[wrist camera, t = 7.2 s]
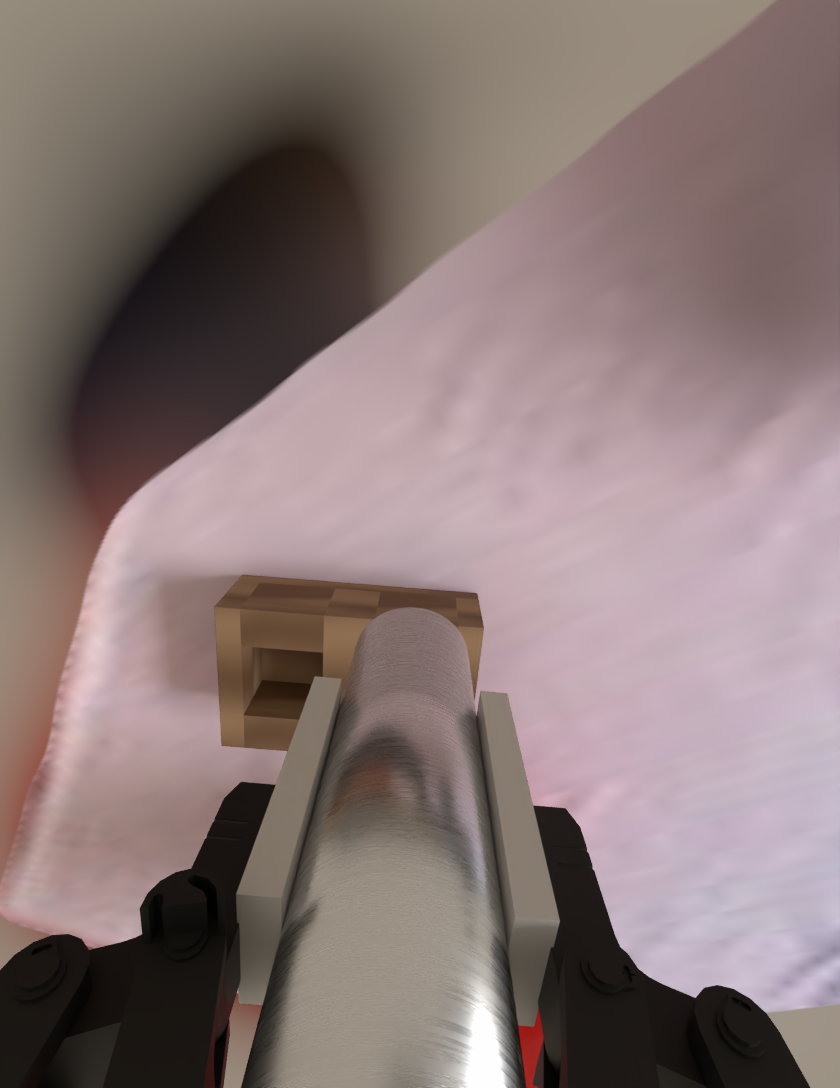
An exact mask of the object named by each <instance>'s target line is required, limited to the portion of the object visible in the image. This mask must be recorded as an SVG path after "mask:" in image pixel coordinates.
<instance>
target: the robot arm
mask: <svg viewBox="0 0 840 1088" xmlns="http://www.w3.org/2000/svg"><path fill="white" fill-rule="evenodd" d="M341 681H342V679H339V678H327V677H316V676H315V677H314V680H313V683H312V686H311V688H310V691H309V694H308V697H307V699H306V702H305V705H304V708H303V711H302V713H301V716H300V719H299V722H298V724H297V727H296V730H295V733H294V735H293V738H292V741H291V744H290V747H289V749H288V752H287V755H286V758H285V760H284V763H283V766H282V769H281V771H280V774H279V777H278V780H277V783H276V785H271V784H259V783H247V782H241V783H240V784H239V785H237V786H236V787H235V788H234V789H233V790H232V791H231V792H230V793H229V794H228V795H227V796H226V797H225V798H224V800H223V802H222V804H221V806H220V808H219V811H218V813H217V815H216V817H215V821H214V822H213V823H212V826H211V828H210V830H209V832H208V834H207V838H206V839H205V840H204V843H203V845H202V847H201V849H200V851H199V853H198V855H197V858H196V860H195V862H194V864H193V866H192V868H191V869H188V870H184V871H180V872H175V873H174V874H172V875H170V876H168V877H167V878H165V879H163V880H161V881H160V882H159V883H158V884H157V885H156V886H155V887H154V888H153V889H152V890H151V891H150V892H149V893H148V894H147V896H146V898H145V900H144V901H143V903H142V905H141V907H140V915H141V925H142V935H140V936H138V937H136V938H133V939H130V940H127V941H124V942H121V943H116V944H112V945H108V946H104V947H100V948H96V949H92V950H88V948H87V946H86V945H85V944H84V942H83V941H82V939H80V938H77V937H75V936H72V935H70V934H64V935H51V936H49V937H46V938H44V939H41V940H38V941H36V942H33V943H32V944H30V945H29V946H27V947H26V948H24V949H23V950H21V951H20V952H18V953H17V954H15V955H14V956H13V957H12V958H11V959H10V960H9V961H8V963H7V964H6V965H5V966H4V967H3V968H2V969H1V970H0V1088H223V1085H224V1077H225V1069H226V1060H227V1052H228V1044H229V1036H230V1027H229V1017H230V1013H231V1010H232V1007H233V1003H234V1000H235V997H236V994H237V990H238V988H239V1003H243V1004H256V1005H263V1001H264V997H265V994H266V990H267V986H268V982H269V978H270V974H271V970H272V967H273V963H274V959H275V955H276V951H277V947H278V943H279V940H280V936H281V933H282V929H283V925H284V921H285V917H286V914H287V910H288V906H289V902H290V898H291V894H292V890H293V887H294V883H295V879H296V875H297V871H298V867H299V863H300V859H301V856H302V852H303V848H304V844H305V840H306V836H307V832H308V829H309V825H310V821H311V817H312V813H313V809H314V805H315V802H316V798H317V794H318V790H319V786H320V782H321V778H322V774H323V771H324V767H325V763H326V759H327V755H328V751H329V747H330V744H331V740H332V736H333V732H334V728H335V724H336V720H337V716H338V713H339V709H340V700H341ZM477 723H478V731H479V738H480V746H481V753H482V761H483V768H484V775H485V783H486V790H487V798H488V805H489V813H490V820H491V828H492V835H493V842H494V850H495V857H496V865H497V872H498V880H499V887H500V894H501V902H502V909H503V917H504V924H505V932H506V939H507V947H508V954H509V961H510V969H511V976H512V984H513V991H514V999H515V1006H516V1013H517V1021H518V1025H519V1026H531V1027H534V1025H535V1021H536V1017H537V1013H538V1009H539V1013H540V1019H541V1025H542V1031H543V1037H544V1038H543V1042H542V1046H541V1050H540V1054H539V1058H538V1061H537V1065H536V1069H535V1074H534V1079H533V1086H536V1087H539V1088H810V1086H809V1085H808V1083H807V1081H806V1079H805V1078H804V1076H803V1074H802V1072H801V1070H800V1069H799V1067H798V1065H797V1063H796V1061H795V1059H794V1058H793V1056H792V1054H791V1052H790V1050H789V1048H788V1047H787V1045H786V1043H785V1041H784V1040H783V1038H782V1036H781V1034H780V1032H779V1031H778V1029H777V1028H776V1026H775V1025H774V1024H773V1022H772V1021H771V1019H770V1018H769V1017H768V1015H767V1014H766V1013H765V1012H764V1011H763V1010H762V1009H761V1008H760V1007H759V1006H758V1005H756V1004H755V1003H754V1002H753V1001H752V1000H751V999H750V998H748V997H746V996H744V995H743V994H741V993H739V992H738V991H736V990H734V989H731V988H727V987H723V986H719V985H716V986H711V987H706V988H704V989H703V990H702V991H701V992H700V993H699V995H698V996H697V997H696V998H694V997H691V996H689V995H687V994H684V993H682V992H680V991H677V990H675V989H672V988H670V987H668V986H665V985H663V984H661V983H659V982H657V981H655V980H653V979H651V978H649V977H648V976H647V975H645V974H644V973H643V972H642V971H640V970H639V969H638V968H637V966H636V965H635V963H634V962H633V961H632V959H631V958H630V956H629V955H628V953H626V952H625V951H624V950H623V949H622V948H621V947H620V946H619V943H618V941H617V939H616V937H615V934H614V931H613V928H612V925H611V922H610V919H609V915H608V912H607V909H606V906H605V903H604V900H603V897H602V894H601V891H600V887H599V884H598V881H597V878H596V875H595V872H594V870H593V869H592V863H591V860H590V856H589V853H588V852H587V847H586V844H585V841H584V838H583V835H582V832H581V828H580V826H579V825H578V824H577V823H576V821H575V820H574V819H573V817H572V816H571V815H570V814H569V812H568V811H567V810H566V808H555V807H544V806H533V803H532V799H531V794H530V790H529V786H528V781H527V777H526V773H525V768H524V764H523V760H522V755H521V751H520V747H519V743H518V738H517V734H516V730H515V725H514V721H513V717H512V712H511V708H510V704H509V699H508V695H507V693H497V692H485V691H480V698H479V705H478V711H477Z"/></svg>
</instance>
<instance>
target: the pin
mask: <svg viewBox="0 0 840 1088" xmlns="http://www.w3.org/2000/svg"><path fill="white" fill-rule="evenodd" d="M241 1088H526V1080H525V1073H524V1066H523V1058H522V1051H521V1043H520V1036H519V1028H518V1021H517V1013H516V1006H515V999H514V991H513V984H512V976H511V969H510V961H509V954H508V947H507V939H506V932H505V924H504V917H503V909H502V902H501V894H500V887H499V880H498V872H497V865H496V857H495V850H494V842H493V835H492V828H491V820H490V813H489V805H488V798H487V790H486V783H485V775H484V768H483V761H482V753H481V746H480V738H479V731H478V723H477V716H476V709H475V701H474V694H473V686H472V679H471V671H470V664H469V656H468V650H467V646H466V643H465V640H464V638H463V636H462V635H461V633H460V631H459V630H458V629H457V628H456V626H455V625H454V624H453V623H451V622H450V621H449V620H448V619H446V618H445V617H443V616H442V615H440V614H438V613H435V612H433V611H430V610H427V609H422V608H414V607H407V608H399V609H394V610H391V611H388V612H385V613H383V614H381V615H379V616H378V617H376V618H375V619H373V620H372V621H371V622H370V623H369V624H368V625H367V626H366V627H365V628H364V630H363V631H362V633H361V634H360V636H359V638H358V640H357V643H356V647H355V650H354V654H353V658H352V662H351V666H350V670H349V673H348V677H347V681H346V685H345V689H344V693H343V697H342V700H341V704H340V709H339V713H338V716H337V720H336V724H335V728H334V732H333V736H332V740H331V744H330V747H329V751H328V755H327V759H326V763H325V767H324V771H323V774H322V778H321V782H320V786H319V790H318V794H317V798H316V802H315V805H314V809H313V813H312V817H311V821H310V825H309V829H308V832H307V836H306V840H305V844H304V848H303V852H302V856H301V859H300V863H299V867H298V871H297V875H296V879H295V883H294V887H293V890H292V894H291V898H290V902H289V906H288V910H287V914H286V917H285V921H284V925H283V929H282V933H281V936H280V940H279V943H278V947H277V951H276V955H275V959H274V963H273V967H272V970H271V974H270V978H269V982H268V986H267V990H266V994H265V997H264V1001H263V1005H262V1009H261V1013H260V1017H259V1021H258V1024H257V1028H256V1032H255V1036H254V1040H253V1044H252V1048H251V1052H250V1055H249V1059H248V1063H247V1067H246V1071H245V1075H244V1079H243V1083H242V1086H241Z"/></svg>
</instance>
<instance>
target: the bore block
mask: <svg viewBox="0 0 840 1088" xmlns="http://www.w3.org/2000/svg"><path fill="white" fill-rule="evenodd" d="M407 607H414V608H422V609H427V610H430V611H433V612H435V613H438V614H440V615H442V616H443V617H445V618H446V619H448V620H449V621H450V622H451V623H453V624H454V625H455V626H456V628H457V629H458V630H459V631H460V633H461V635H462V636H463V638H464V640H465V643H466V646H467V650H468V656H469V664H470V671H471V679H472V686H473V694H474V701H475V693H476V685H477V677H478V670H479V662H480V654H481V646H482V638H483V631H484V627H483V621H482V616H481V611H480V606H479V600H478V595H477V594H476V593H464V592H451V591H438V590H426V589H413V588H401V587H388V586H375V585H363V584H350V583H337V582H325V581H312V580H299V579H287V578H274V577H261V576H249V575H242V576H241V577H240V578H239V580H238V581H237V582H236V583H235V584H234V585H233V586H232V588H231V589H230V590H229V591H228V592H227V593H226V594H225V596H224V597H223V598H222V599H221V600H220V601H219V602H218V604H217V605H216V606H215V607H214V608H215V627H216V646H217V666H218V685H219V704H220V723H221V742H222V746H231V747H244V748H257V749H270V750H282V751H288V749H289V747H290V744H291V741H292V738H293V735H294V733H295V730H296V727H297V724H298V722H299V719H300V716H301V713H302V711H303V708H304V705H305V702H306V699H307V697H308V694H309V691H310V688H311V686H312V683H313V680H314V677H315V676H316V677H327V678H339V679H342V681H341V700H342V697H343V693H344V689H345V685H346V681H347V677H348V673H349V670H350V666H351V662H352V658H353V654H354V650H355V647H356V643H357V640H358V638H359V636H360V634H361V633H362V631H363V630H364V628H365V627H366V626H367V625H368V624H369V623H370V622H371V621H372V620H373V619H375V618H376V617H378V616H379V615H381V614H383V613H385V612H388V611H391V610H394V609H399V608H407ZM341 700H340V704H341Z"/></svg>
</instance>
